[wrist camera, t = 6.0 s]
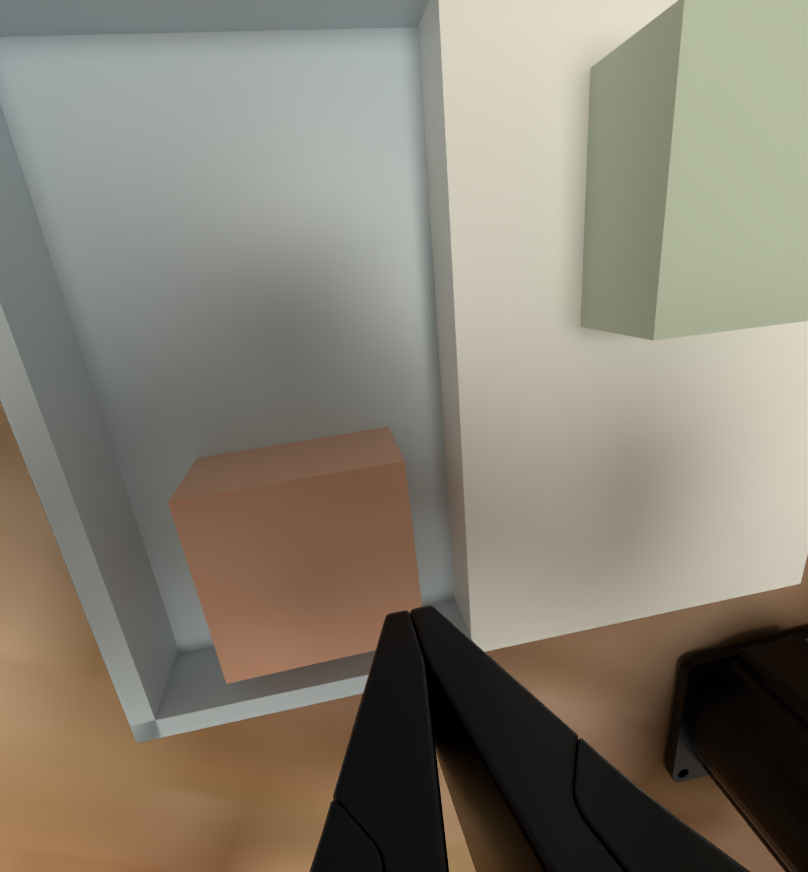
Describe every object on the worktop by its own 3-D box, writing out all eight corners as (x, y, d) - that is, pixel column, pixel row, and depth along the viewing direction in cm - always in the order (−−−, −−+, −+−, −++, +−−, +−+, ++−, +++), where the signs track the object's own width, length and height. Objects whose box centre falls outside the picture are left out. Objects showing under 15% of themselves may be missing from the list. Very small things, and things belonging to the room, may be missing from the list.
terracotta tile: (408, 579, 14) (426, 638, 12) (242, 614, 14) (226, 683, 11) (388, 426, 13) (404, 460, 10) (196, 458, 12) (168, 501, 10)
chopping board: (746, 549, 17) (800, 583, 15) (453, 608, 15) (472, 654, 13) (850, -8, 11) (955, -64, 9) (412, -1, 10) (435, -66, 8)
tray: (453, 608, 15) (477, 667, 13) (166, 665, 14) (136, 742, 12) (412, -1, 10) (442, -88, 8) (-59, 6, 9) (-198, -95, 6)
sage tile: (768, 304, 11) (883, 311, 9) (580, 326, 11) (653, 340, 8) (809, 59, 10) (964, -9, 7) (590, 67, 9) (685, -5, 7)
